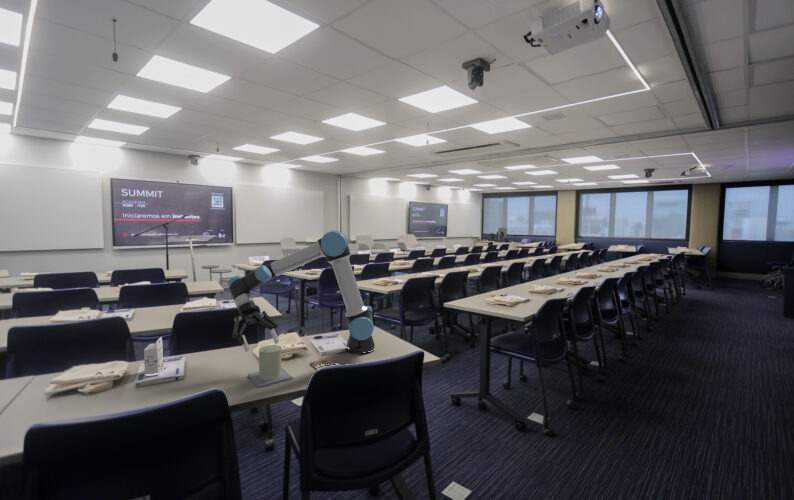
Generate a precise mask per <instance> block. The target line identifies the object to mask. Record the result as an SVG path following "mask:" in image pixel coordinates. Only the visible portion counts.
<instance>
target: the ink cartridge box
mask: <svg viewBox="0 0 794 500" xmlns="http://www.w3.org/2000/svg"><path fill="white" fill-rule="evenodd" d="M163 347H164V346H163V338H162V336H160V337H159V338H158V339H157V340H156V341H155V343H149V344H148V345H147V346H146V347H145V348H144V349H143V355H144V357H143V358H144V359H143V361H144V375H145V374H154V373H159V371H160V370H161V369H162V367H163V368H164V354H163V353H164V352H163V351H164V350H163ZM162 370H163V369H162ZM162 370H161V371H162ZM159 374H160V373H159Z"/></svg>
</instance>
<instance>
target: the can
mask: <svg viewBox="0 0 794 500" xmlns="http://www.w3.org/2000/svg"><path fill="white" fill-rule="evenodd" d="M282 351H283V347H282V346H280V345H277V344H275V345H265V346H263V347H262V346H261V347H260V348H259V349H258V360H259V361H258V362H259V363H258V372H259V378H260V379H262V380H272V379H276V378H279V377H280V376H281V375H282V368H283V367H282V358H283V357H282Z"/></svg>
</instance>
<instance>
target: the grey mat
mask: <svg viewBox="0 0 794 500" xmlns="http://www.w3.org/2000/svg"><path fill="white" fill-rule="evenodd" d="M247 376H248V378H249V379H250V380H251V382H253V383H254V385H255V386H256V387H257V388H259V389H261V388H263V387H266V386H267V387H268V386H272V385H275V384H278V383H282V382H286V381H290V380H293V379H294V378H293V376H292V375H291V374H290V373H289V372H287V371H286V370H285V369H284V368H283V367H282V375H281V376H280V377H279V378H276V379H272V380H262V379H260V378H259V371H256V372H252V373H248V374H247Z"/></svg>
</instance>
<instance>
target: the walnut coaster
mask: <svg viewBox="0 0 794 500" xmlns="http://www.w3.org/2000/svg"><path fill="white" fill-rule="evenodd" d="M337 362H338V361H336V360H334V359H333V358H331V357H329V358H326V359H322V360H321V359H320V360H316V361H313V362H310V363H309V365H310V364H311V365H313V366H314V367H315V366H316V367H317V365H319V366H320V367H323V366H321V364H325V365H324V366H330V365H336V364H335V363H337ZM332 363H333V364H332ZM326 364H327V365H326ZM328 364H329V365H328ZM311 365H310V366H311ZM313 366H312V367H313ZM314 367H313V368H314ZM320 367H318V368H320ZM316 370H317V368H316Z"/></svg>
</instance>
